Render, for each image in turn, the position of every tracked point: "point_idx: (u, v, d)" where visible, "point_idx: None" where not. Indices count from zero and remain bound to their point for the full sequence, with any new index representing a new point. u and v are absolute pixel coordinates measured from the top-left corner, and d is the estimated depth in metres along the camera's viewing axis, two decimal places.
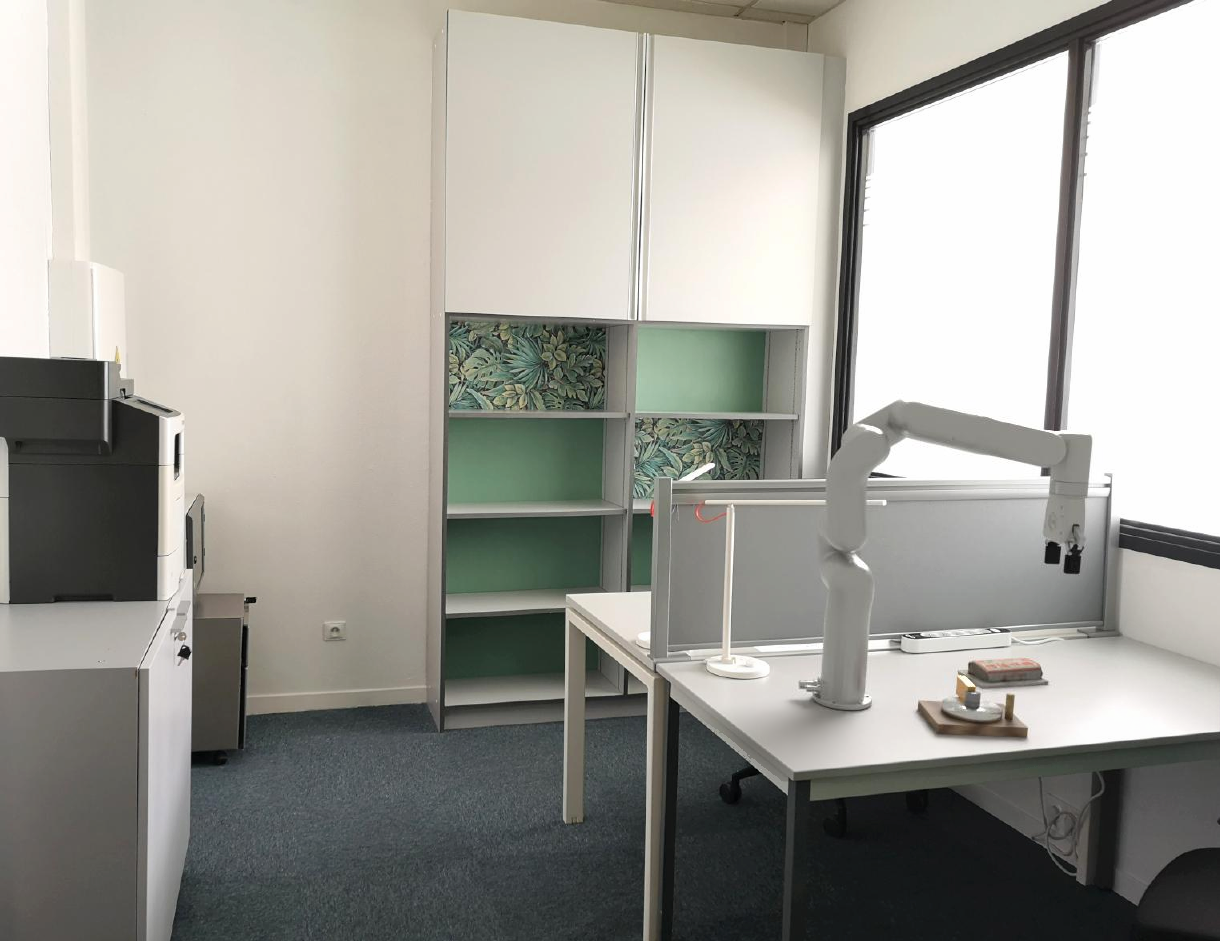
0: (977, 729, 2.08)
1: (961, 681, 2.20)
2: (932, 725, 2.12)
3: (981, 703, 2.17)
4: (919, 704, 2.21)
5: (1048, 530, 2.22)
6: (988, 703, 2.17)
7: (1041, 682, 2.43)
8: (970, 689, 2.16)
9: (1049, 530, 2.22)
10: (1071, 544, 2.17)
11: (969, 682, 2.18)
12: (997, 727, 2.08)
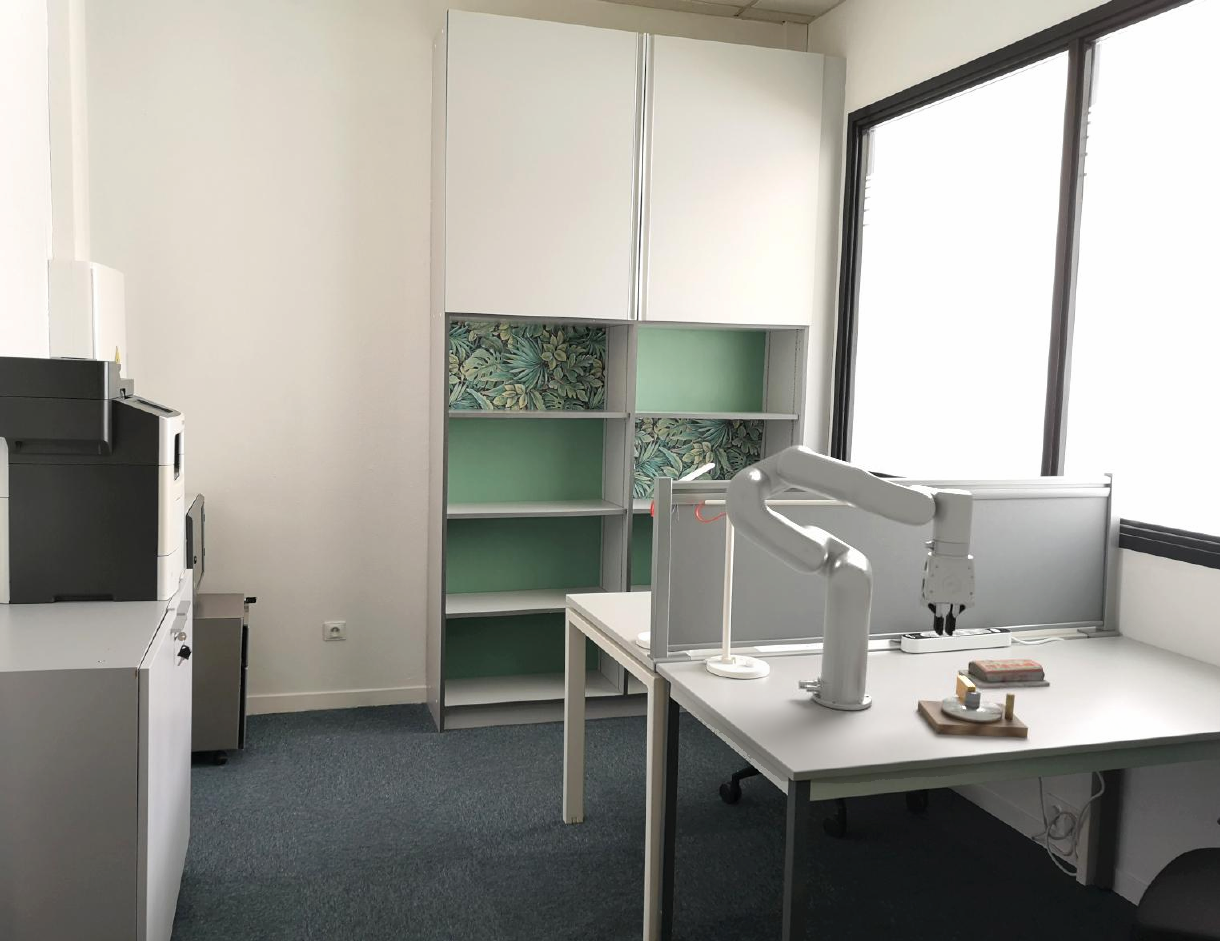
0: (977, 729, 2.08)
1: (961, 681, 2.20)
2: (932, 725, 2.12)
3: (981, 703, 2.17)
4: (919, 704, 2.21)
5: (943, 594, 2.16)
6: (988, 703, 2.17)
7: (1042, 683, 2.42)
8: (970, 689, 2.16)
9: (946, 594, 2.16)
10: None
11: (969, 682, 2.18)
12: (997, 727, 2.08)
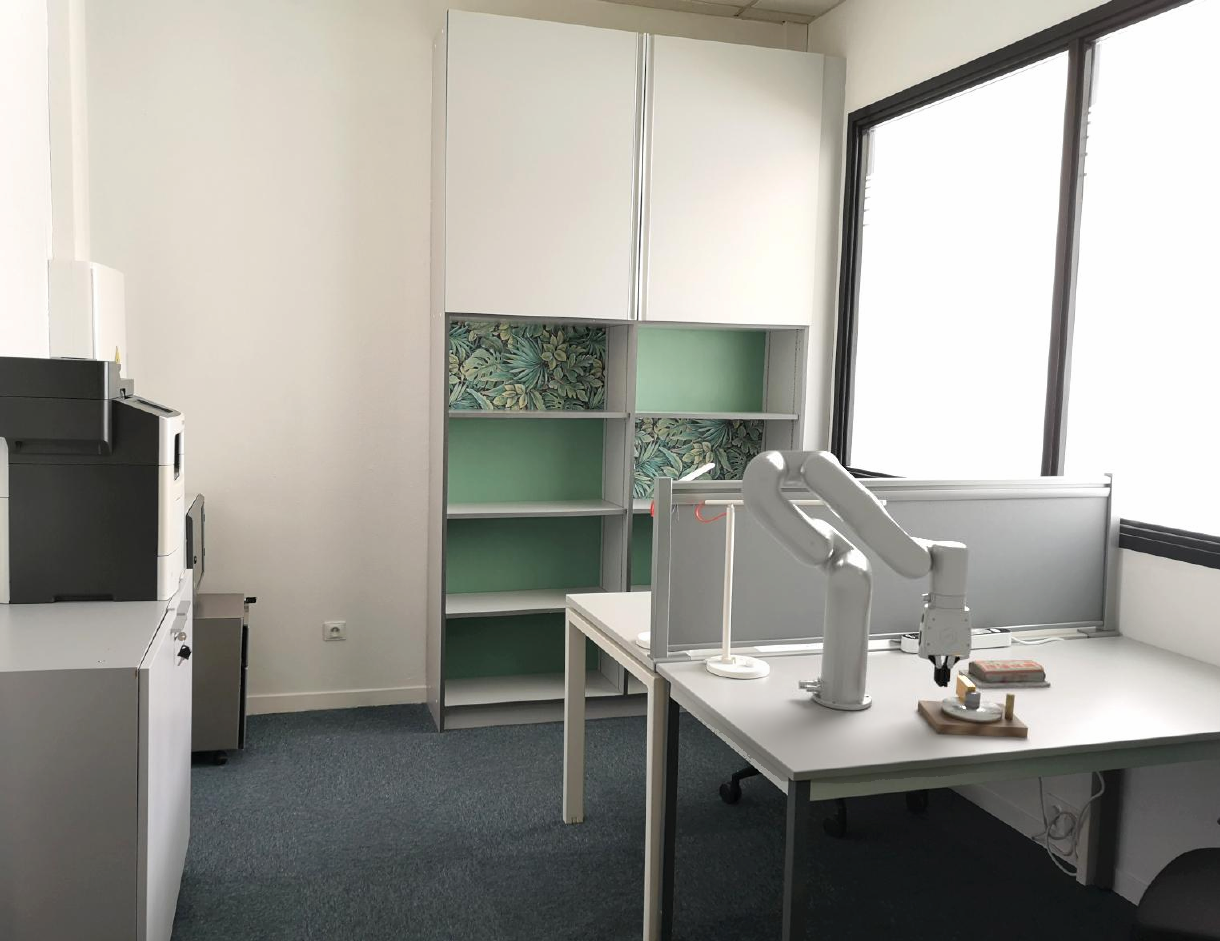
0: (977, 729, 2.08)
1: (961, 681, 2.20)
2: (932, 725, 2.12)
3: (981, 703, 2.17)
4: (919, 704, 2.21)
5: (940, 646, 2.17)
6: (988, 703, 2.17)
7: (1043, 684, 2.41)
8: (970, 689, 2.16)
9: (943, 646, 2.17)
10: None
11: (969, 682, 2.18)
12: (997, 727, 2.08)
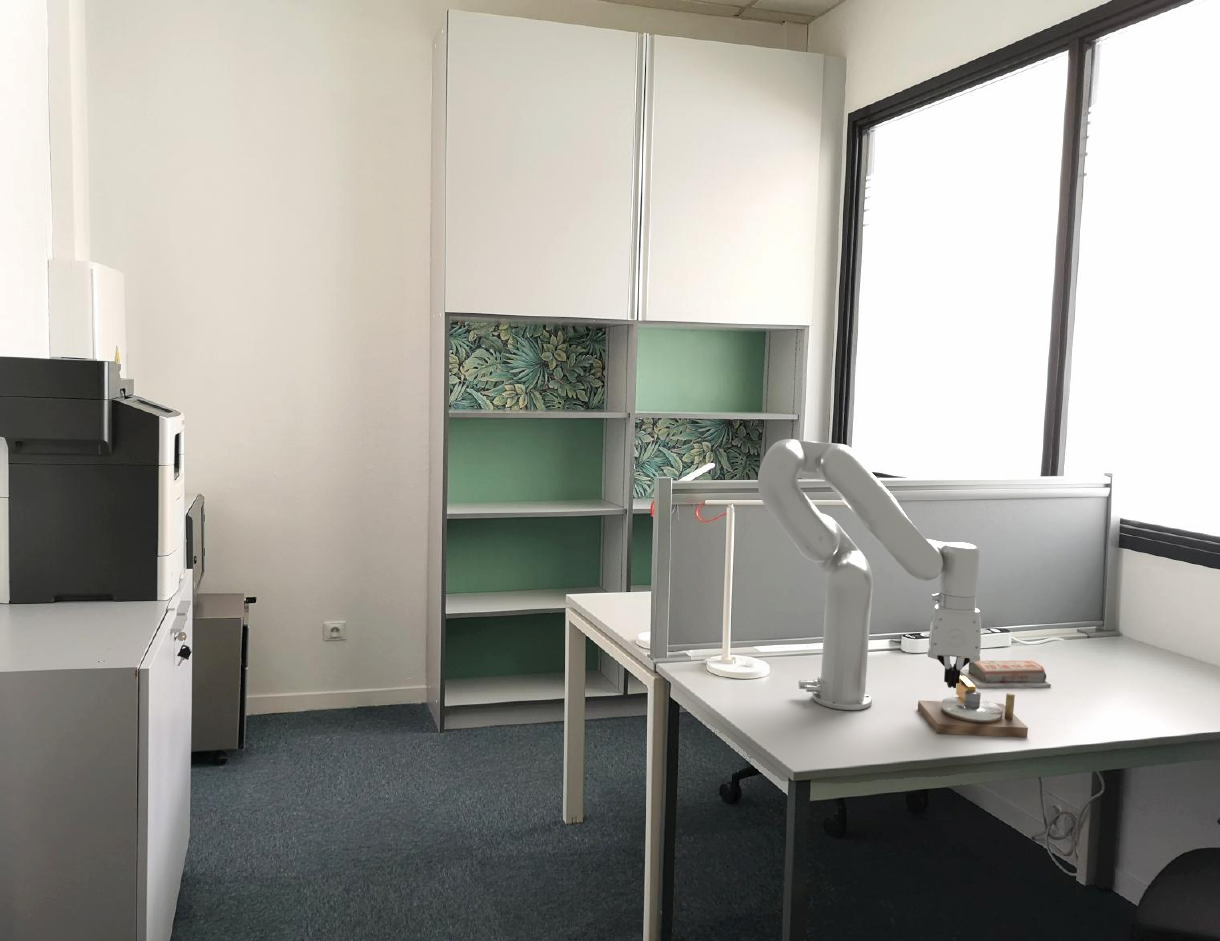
0: (977, 729, 2.08)
1: (961, 681, 2.20)
2: (932, 725, 2.12)
3: (981, 703, 2.17)
4: (919, 704, 2.21)
5: (948, 647, 2.17)
6: (988, 703, 2.17)
7: (1043, 685, 2.41)
8: (970, 689, 2.16)
9: (950, 646, 2.17)
10: None
11: (969, 682, 2.18)
12: (997, 727, 2.08)
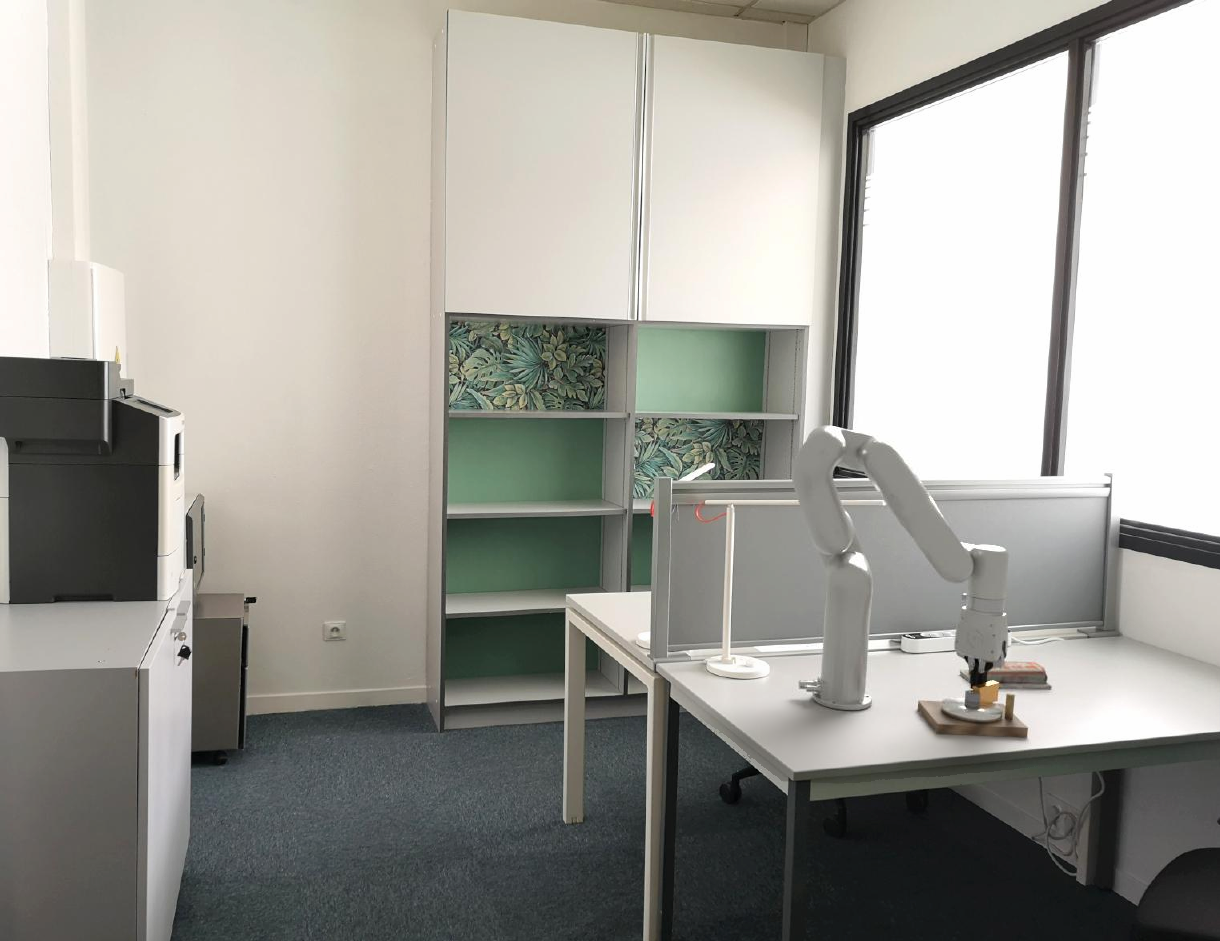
0: (977, 729, 2.08)
1: None
2: (932, 725, 2.12)
3: (989, 708, 2.14)
4: (919, 704, 2.21)
5: (967, 647, 2.19)
6: (997, 710, 2.13)
7: (1043, 686, 2.40)
8: (974, 689, 2.15)
9: (969, 647, 2.18)
10: None
11: (983, 685, 2.16)
12: (997, 727, 2.08)
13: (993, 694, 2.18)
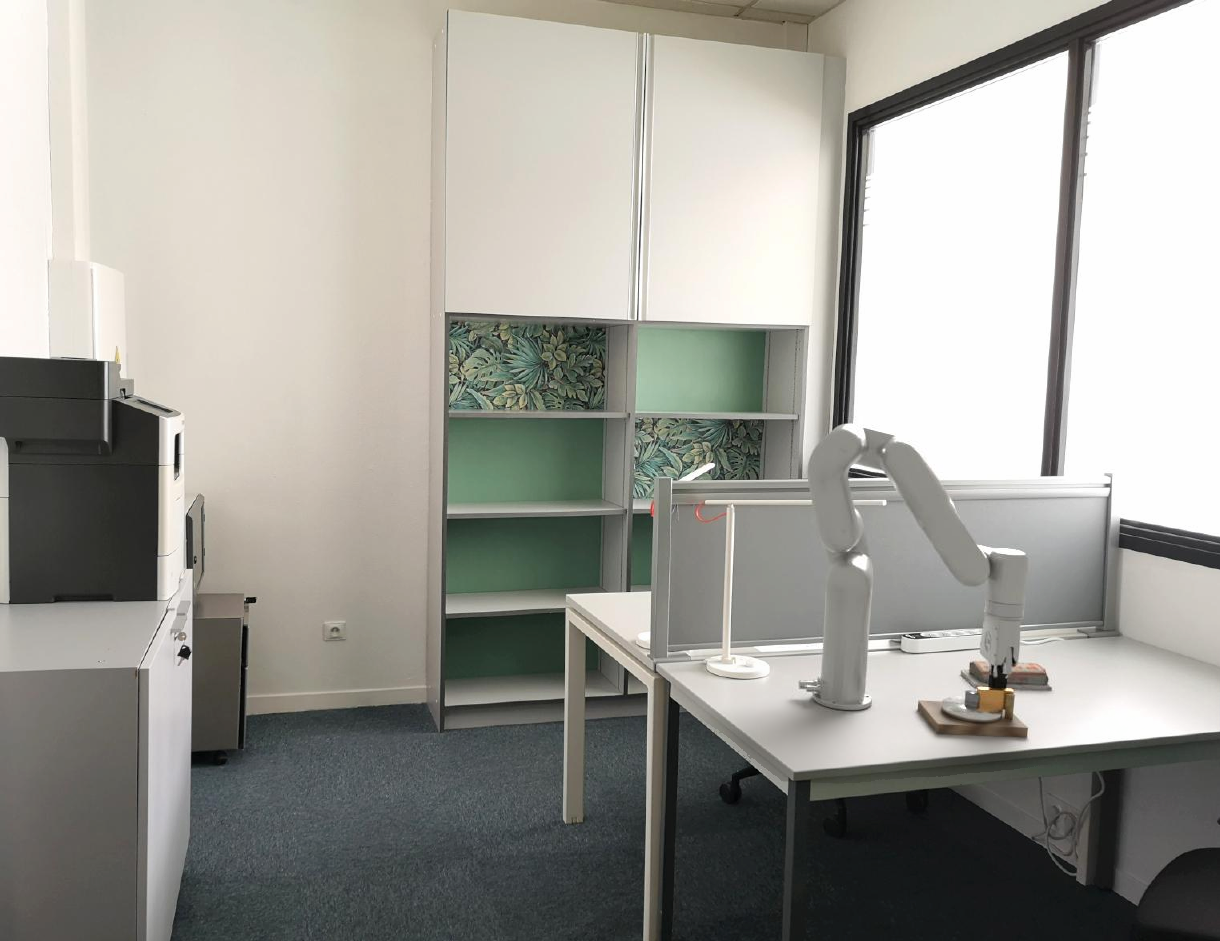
0: (977, 729, 2.08)
1: None
2: (932, 725, 2.12)
3: (986, 711, 2.12)
4: (919, 704, 2.21)
5: (984, 649, 2.18)
6: (990, 714, 2.11)
7: (1043, 688, 2.39)
8: (977, 690, 2.15)
9: (985, 649, 2.17)
10: None
11: (989, 688, 2.14)
12: (997, 727, 2.08)
13: (1003, 701, 2.14)
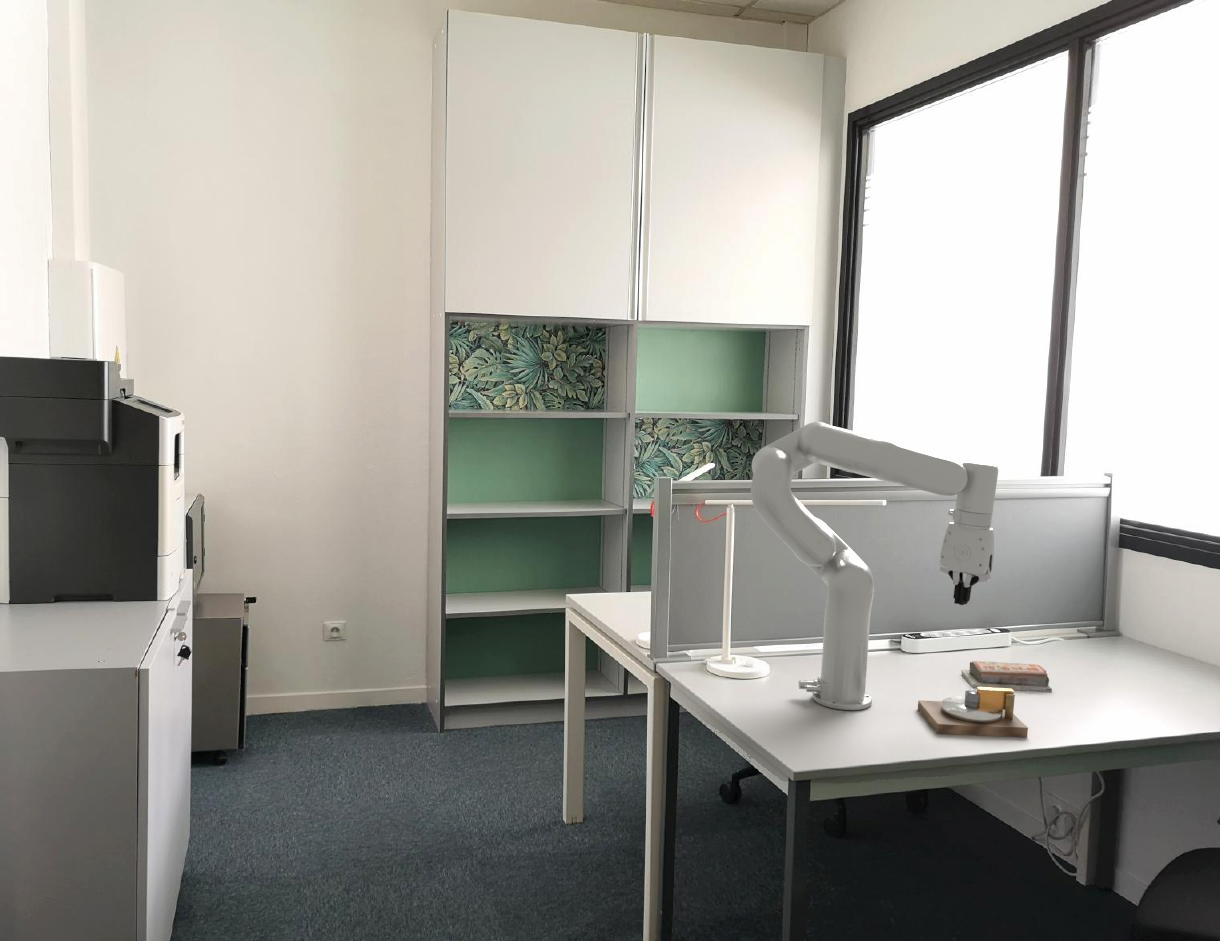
0: (977, 729, 2.08)
1: None
2: (932, 725, 2.12)
3: (986, 711, 2.12)
4: (919, 704, 2.21)
5: (954, 561, 2.20)
6: (990, 714, 2.11)
7: (1043, 689, 2.38)
8: (977, 690, 2.15)
9: (956, 561, 2.19)
10: None
11: (989, 688, 2.14)
12: (997, 727, 2.08)
13: (1003, 701, 2.14)
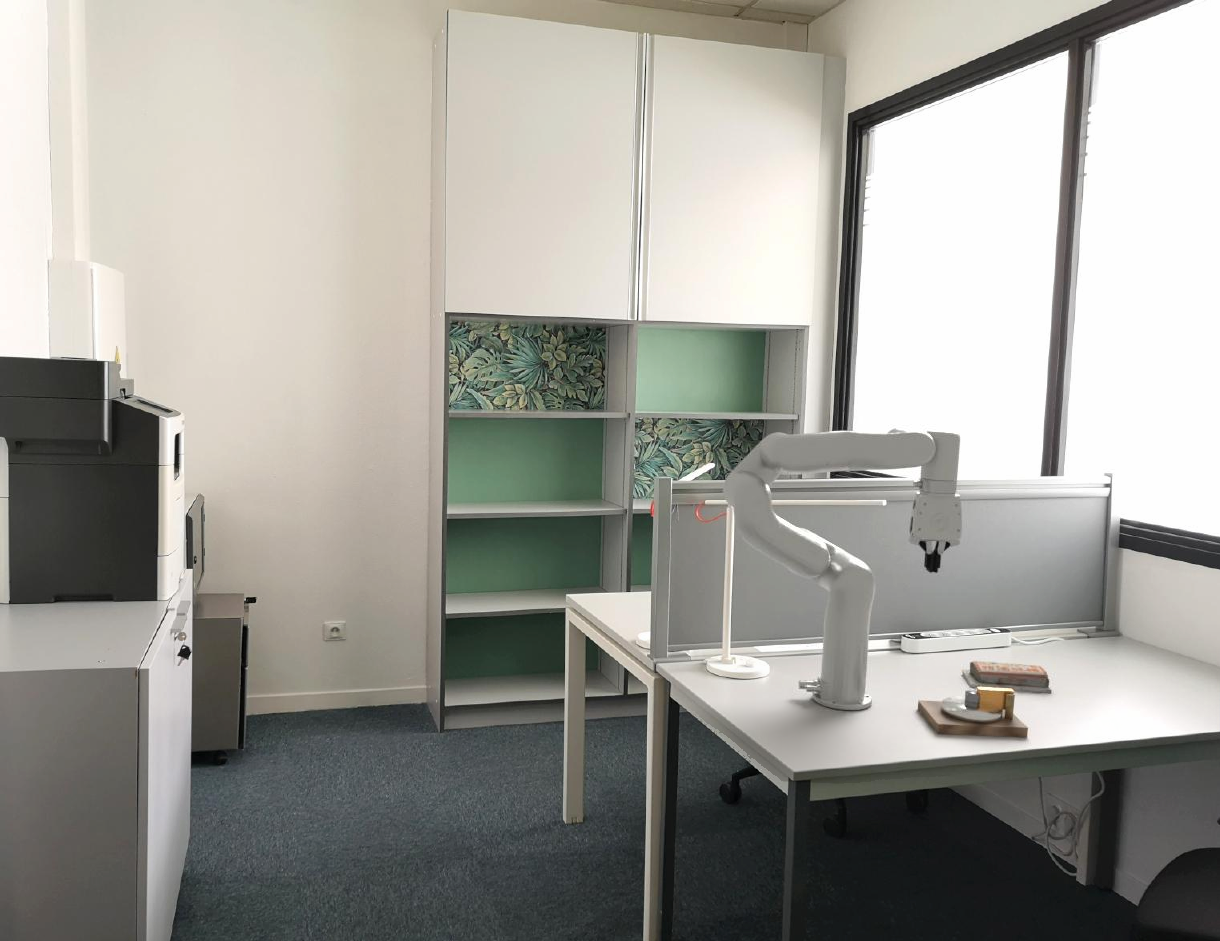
0: (977, 729, 2.08)
1: None
2: (932, 725, 2.12)
3: (986, 711, 2.12)
4: (919, 704, 2.21)
5: (931, 531, 2.21)
6: (990, 714, 2.11)
7: (1042, 690, 2.37)
8: (977, 690, 2.15)
9: (934, 531, 2.21)
10: None
11: (989, 688, 2.14)
12: (997, 727, 2.08)
13: (1003, 701, 2.14)
